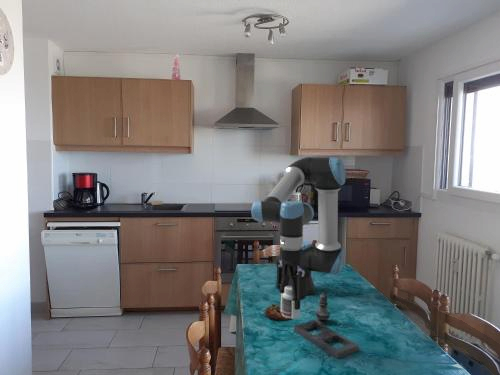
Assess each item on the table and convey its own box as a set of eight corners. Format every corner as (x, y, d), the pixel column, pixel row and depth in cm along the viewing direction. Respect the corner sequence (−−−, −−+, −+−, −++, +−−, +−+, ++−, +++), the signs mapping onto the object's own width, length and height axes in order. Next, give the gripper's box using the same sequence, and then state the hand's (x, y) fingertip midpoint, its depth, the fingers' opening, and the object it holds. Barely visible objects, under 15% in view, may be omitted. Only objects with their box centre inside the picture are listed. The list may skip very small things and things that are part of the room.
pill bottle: (295, 320, 125) (295, 291, 124) (279, 317, 127) (280, 289, 126) (299, 313, 130) (299, 286, 129) (284, 310, 132) (284, 283, 131)
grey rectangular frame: (293, 331, 139) (294, 326, 139) (314, 325, 144) (314, 320, 144) (336, 359, 120) (337, 353, 120) (358, 351, 126) (359, 345, 126)
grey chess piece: (321, 326, 144) (322, 295, 143) (311, 320, 149) (312, 290, 148) (333, 323, 147) (334, 293, 146) (323, 317, 152) (324, 288, 151)
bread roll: (260, 318, 149) (261, 305, 150) (268, 311, 160) (270, 299, 160) (287, 324, 146) (289, 311, 146) (294, 317, 156) (295, 304, 156)
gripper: (266, 243, 132) (265, 306, 134) (299, 256, 116) (298, 328, 119) (283, 240, 136) (282, 302, 138) (318, 252, 120) (316, 322, 123)
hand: (289, 314), depth 128 cm, fingers closed on pill bottle, 5 cm apart
